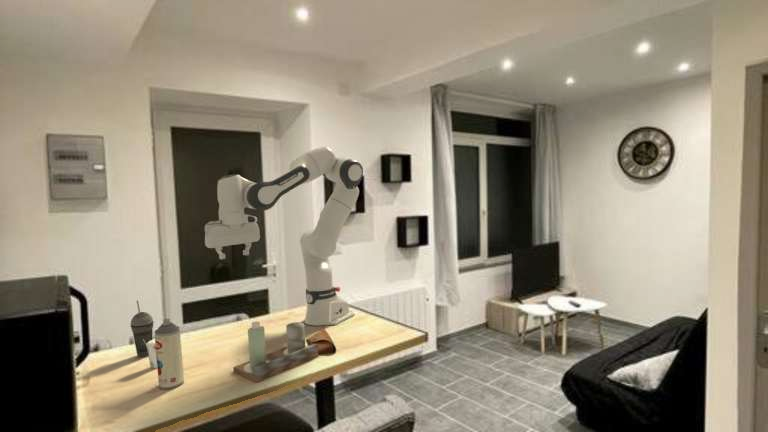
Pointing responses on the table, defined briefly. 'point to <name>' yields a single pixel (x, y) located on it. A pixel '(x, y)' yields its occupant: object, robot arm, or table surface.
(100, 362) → the table surface
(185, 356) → the table surface
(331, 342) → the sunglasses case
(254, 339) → the slim bottle
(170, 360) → the aerosol can
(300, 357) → the rail stand
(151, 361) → the milkshake
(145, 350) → the beverage cup
